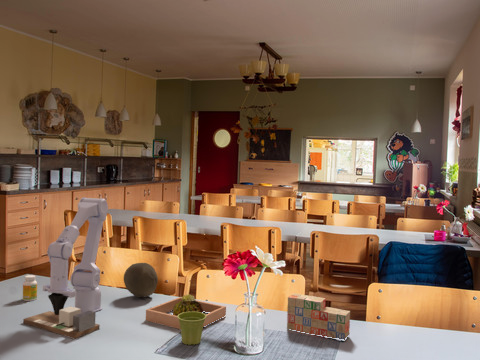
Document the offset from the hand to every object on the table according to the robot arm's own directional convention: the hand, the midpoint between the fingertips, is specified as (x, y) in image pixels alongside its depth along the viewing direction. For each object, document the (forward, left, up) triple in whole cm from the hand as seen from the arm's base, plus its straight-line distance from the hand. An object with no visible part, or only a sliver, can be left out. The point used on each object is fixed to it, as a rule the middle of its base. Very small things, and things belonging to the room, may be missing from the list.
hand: (58, 314), depth 166 cm
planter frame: (-32, +33, -4) cm, 46 cm away
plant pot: (-14, +48, -4) cm, 50 cm away
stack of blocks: (-46, +80, -4) cm, 92 cm away
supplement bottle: (-14, -34, -4) cm, 37 cm away
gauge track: (0, +2, -4) cm, 4 cm away
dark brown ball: (-43, 0, -4) cm, 43 cm away
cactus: (-30, +34, -4) cm, 46 cm away
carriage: (+1, +6, -2) cm, 6 cm away
